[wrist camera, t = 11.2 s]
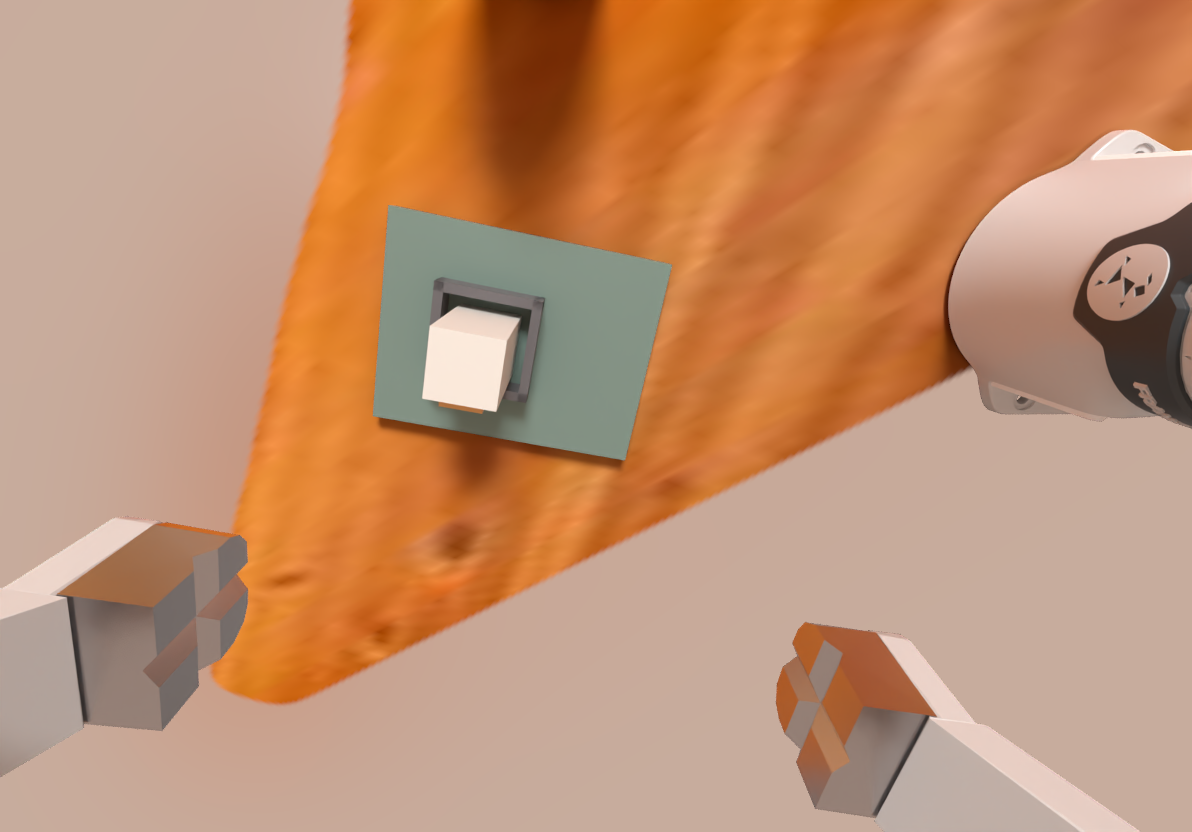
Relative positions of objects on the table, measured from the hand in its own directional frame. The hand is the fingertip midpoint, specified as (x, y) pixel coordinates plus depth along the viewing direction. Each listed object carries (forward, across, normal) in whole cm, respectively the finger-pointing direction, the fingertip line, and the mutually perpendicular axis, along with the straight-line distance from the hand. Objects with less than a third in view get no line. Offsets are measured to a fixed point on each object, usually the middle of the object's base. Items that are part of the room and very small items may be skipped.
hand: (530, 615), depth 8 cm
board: (+31, +3, +3) cm, 31 cm away
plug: (+30, +5, +3) cm, 30 cm away
